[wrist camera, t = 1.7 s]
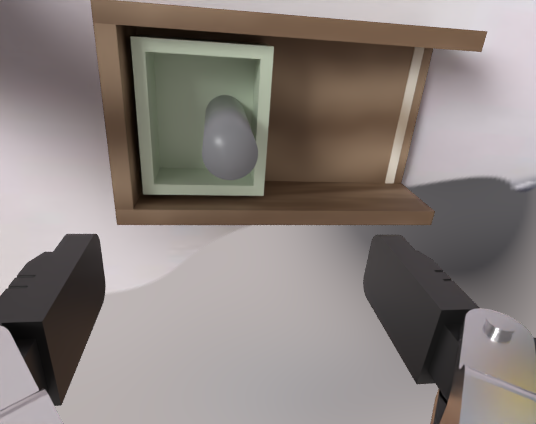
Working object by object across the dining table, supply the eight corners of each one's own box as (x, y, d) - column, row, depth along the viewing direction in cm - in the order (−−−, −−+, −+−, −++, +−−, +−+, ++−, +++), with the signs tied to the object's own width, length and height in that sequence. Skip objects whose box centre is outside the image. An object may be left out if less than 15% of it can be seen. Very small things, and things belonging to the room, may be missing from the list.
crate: (142, 35, 27) (102, 39, 17) (265, 43, 28) (292, 52, 18) (152, 173, 31) (124, 238, 22) (257, 175, 32) (276, 238, 23)
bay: (118, 4, 27) (90, -2, 21) (430, 30, 30) (487, 31, 24) (135, 187, 33) (117, 224, 27) (393, 191, 36) (431, 224, 30)
